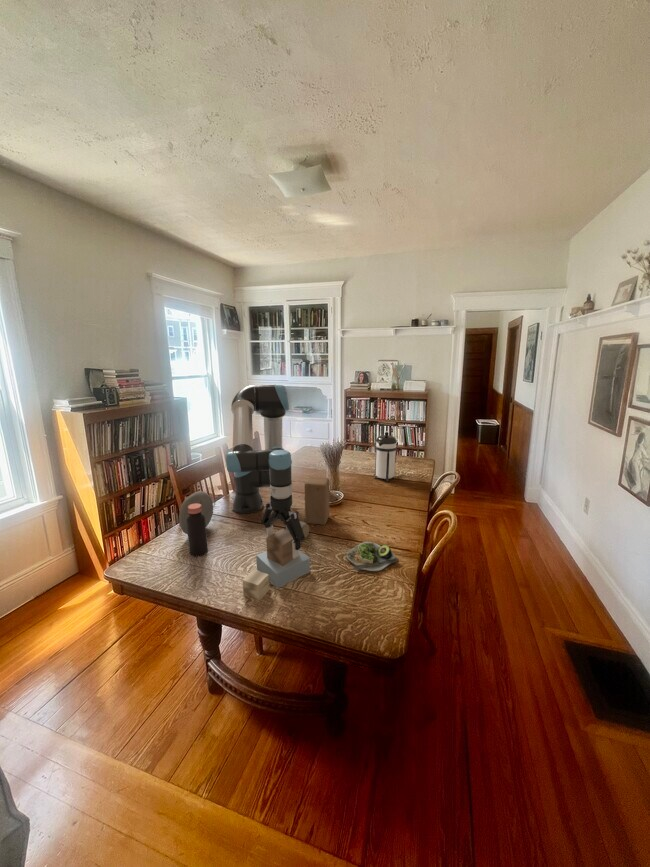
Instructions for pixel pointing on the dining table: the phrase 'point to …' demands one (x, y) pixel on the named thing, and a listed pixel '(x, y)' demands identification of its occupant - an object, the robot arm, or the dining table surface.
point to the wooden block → (317, 500)
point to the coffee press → (385, 456)
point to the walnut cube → (280, 547)
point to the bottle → (196, 531)
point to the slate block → (283, 568)
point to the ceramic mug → (303, 528)
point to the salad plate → (371, 556)
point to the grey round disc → (193, 499)
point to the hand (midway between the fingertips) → (282, 549)
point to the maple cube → (256, 585)
